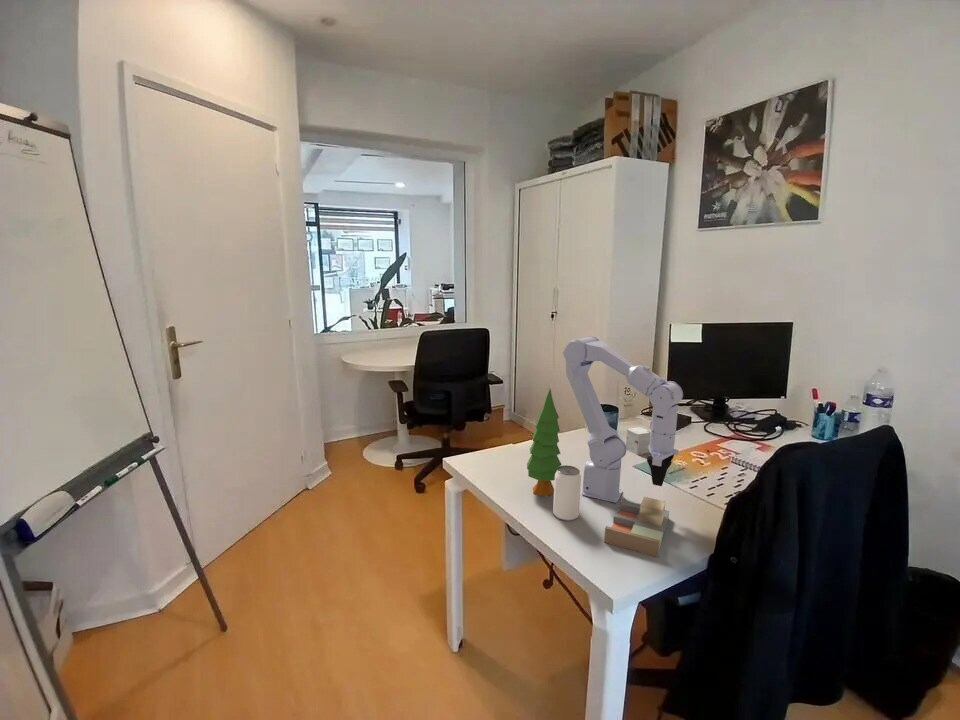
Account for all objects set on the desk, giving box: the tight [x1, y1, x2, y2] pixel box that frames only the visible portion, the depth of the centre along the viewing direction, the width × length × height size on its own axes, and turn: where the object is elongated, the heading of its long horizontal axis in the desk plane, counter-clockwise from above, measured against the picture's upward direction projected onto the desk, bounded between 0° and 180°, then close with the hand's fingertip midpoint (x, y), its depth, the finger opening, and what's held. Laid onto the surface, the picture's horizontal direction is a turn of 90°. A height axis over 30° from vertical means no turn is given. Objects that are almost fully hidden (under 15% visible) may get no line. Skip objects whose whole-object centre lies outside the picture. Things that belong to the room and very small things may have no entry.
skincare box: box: [625, 426, 651, 455], centre depth 161 cm, size 6×6×7 cm
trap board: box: [603, 499, 670, 558], centre depth 112 cm, size 12×18×4 cm, turn 152°
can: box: [552, 464, 582, 522], centre depth 118 cm, size 6×6×12 cm
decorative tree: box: [526, 387, 563, 497], centre depth 128 cm, size 10×9×30 cm
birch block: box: [639, 496, 667, 526], centre depth 113 cm, size 5×5×4 cm
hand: (658, 482), depth 118 cm, fingers open, 2 cm apart
